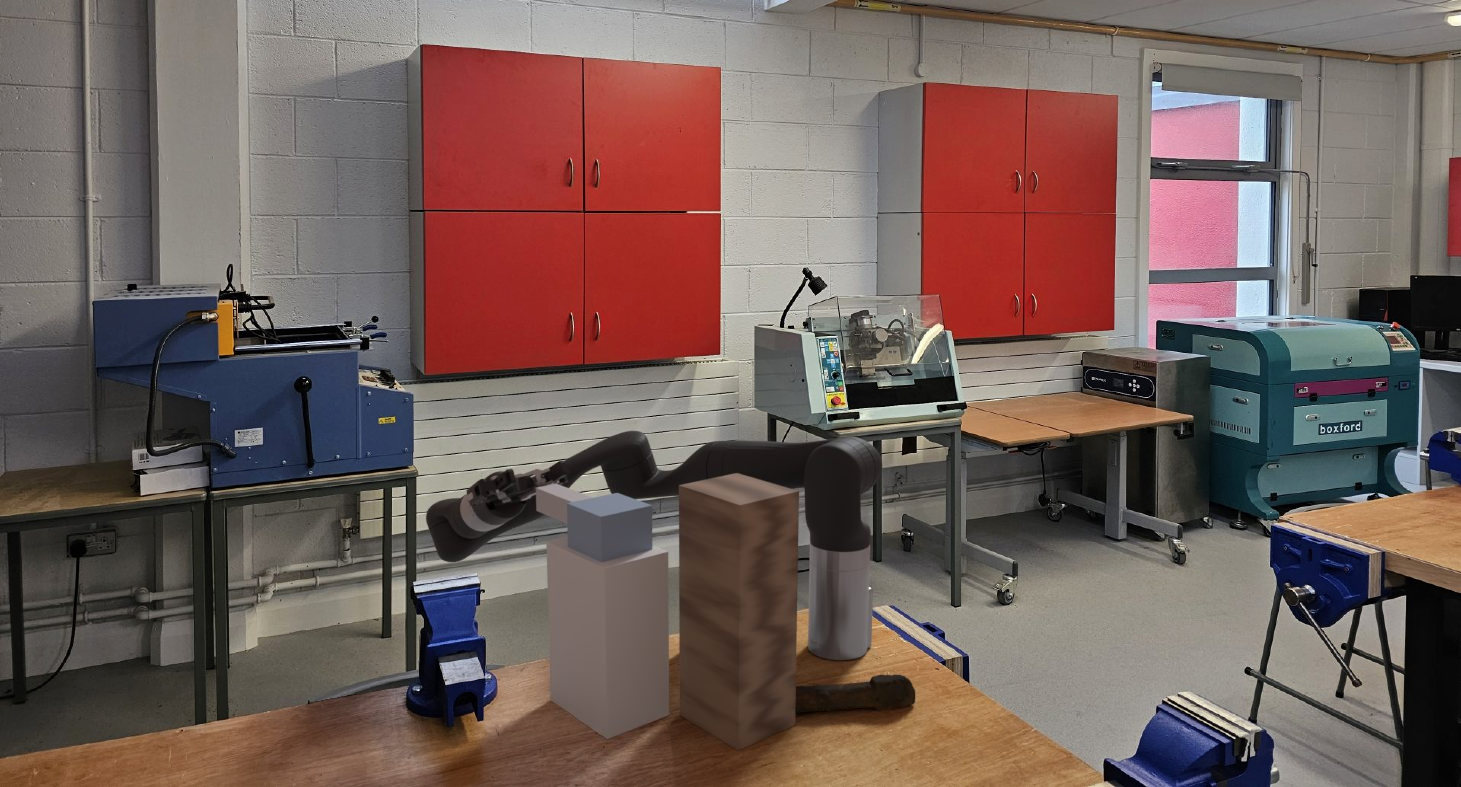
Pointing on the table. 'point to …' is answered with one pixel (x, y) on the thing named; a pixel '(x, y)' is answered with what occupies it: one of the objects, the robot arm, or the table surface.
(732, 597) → the walnut stand
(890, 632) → the table surface
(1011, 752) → the table surface
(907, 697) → the hand tool
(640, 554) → the grey pedestal
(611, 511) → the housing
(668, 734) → the table surface
